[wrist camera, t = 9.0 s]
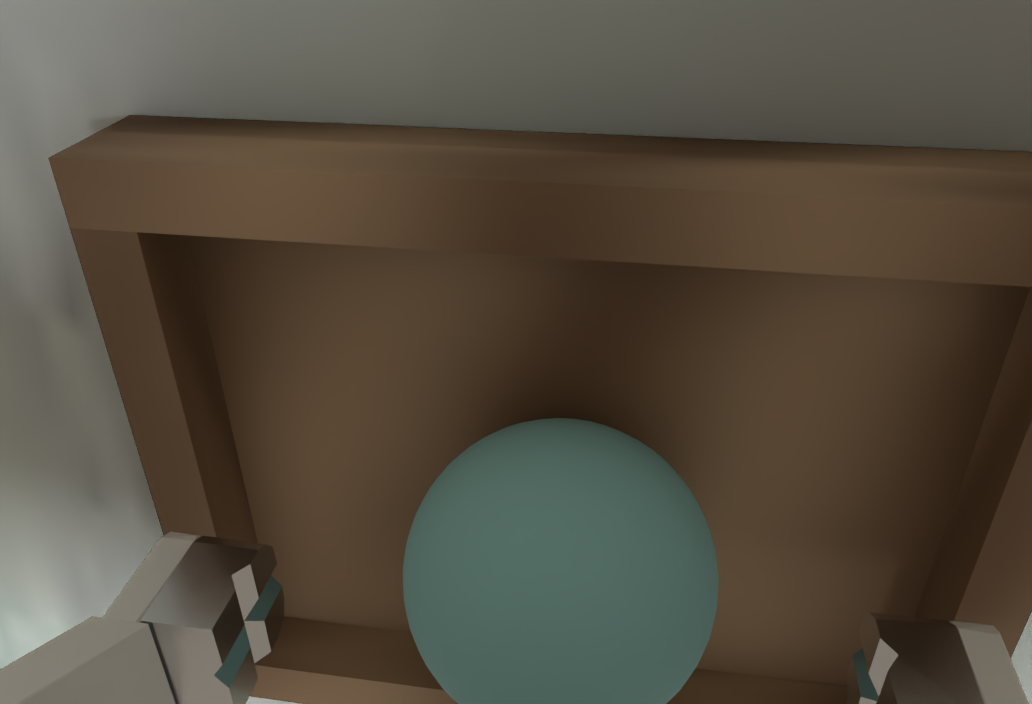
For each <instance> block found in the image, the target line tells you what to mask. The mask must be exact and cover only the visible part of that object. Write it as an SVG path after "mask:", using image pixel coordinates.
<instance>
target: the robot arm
mask: <svg viewBox="0 0 1032 704" xmlns="http://www.w3.org/2000/svg"><path fill="white" fill-rule="evenodd" d="M276 565H277V561H276V557H275V554H274V550H273V547H272V546H269V545H266V544H260V543H253V542H246V541H239V540H231V539H224V538H217V537H210V536H199V535H192V534H185V533H177V532H169V533H168V534H166V535H164V536H163V537H161V538H160V539H159V540H158V542H157V543H156V544H155V546H154V547H153V549H152V550H151V551H150V553H149V554H148V555H147V557H146V558H145V559H144V561H143V562H142V564H141V565H140V566H139V568H138V569H137V570H136V572H135V573H134V575H133V576H132V577H131V579H130V580H129V581H128V583H127V584H126V585H125V587H124V588H123V590H122V591H121V592H120V594H119V595H118V596H117V598H116V599H115V600H114V602H113V603H112V605H111V606H110V607H109V609H108V610H107V611H106V613H105V614H104V615H103V617H93V616H92V617H91V618H89V619H87V620H85V621H84V622H82V623H80V624H78V625H77V626H75V627H73V628H71V629H70V630H68V631H66V632H64V633H63V634H61V635H59V636H57V637H56V638H54V639H52V640H50V641H49V642H47V643H45V644H44V645H42V646H40V647H38V648H37V649H35V650H33V651H31V652H30V653H28V654H26V655H24V656H23V657H21V658H19V659H17V660H16V661H14V662H12V663H10V664H9V665H7V666H5V667H3V668H2V669H0V704H246V702H247V700H248V698H249V696H250V694H251V692H252V690H253V688H254V686H255V684H256V682H257V680H258V676H257V671H256V667H255V663H256V662H257V661H259V660H260V659H262V658H263V657H264V656H266V655H267V654H269V653H270V652H271V651H272V649H273V647H274V645H275V643H276V640H277V638H278V636H279V634H280V630H281V625H282V621H283V617H284V594H283V589H282V585H281V584H280V583H279V582H277V581H276V580H275V579H274V578H273V577H272V576H271V574H272V572H273V571H274V569H275V567H276ZM859 633H860V637H861V642H862V646H863V648H862V649H861V650H859V651H858V652H856V653H854V654H853V655H852V658H851V662H850V666H849V669H848V676H847V691H846V696H847V704H1029V702H1028V700H1027V697H1026V695H1025V693H1024V690H1023V688H1022V685H1021V683H1020V681H1019V678H1018V676H1017V673H1016V671H1015V668H1014V666H1013V664H1012V661H1011V659H1010V656H1009V654H1008V652H1007V649H1006V647H1005V644H1004V642H1003V639H1002V637H1001V635H1000V632H999V631H998V630H997V629H996V628H995V627H994V626H993V625H984V624H975V623H966V622H956V621H949V622H948V621H947V620H940V619H930V618H920V617H911V616H901V615H891V614H882V613H872V612H868V614H867V615H866V616H865V617H864V619H863V622H862V625H861V628H860V631H859Z"/></svg>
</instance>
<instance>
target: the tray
mask: <svg viewBox="0 0 1032 704" xmlns="http://www.w3.org/2000/svg"><path fill="white" fill-rule="evenodd" d="M49 161H50V164H51V168H52V171H53V174H54V178H55V181H56V184H57V187H58V191H59V194H60V197H61V201H62V204H63V207H64V210H65V214H66V217H67V220H68V223H69V227H70V230H71V233H72V237H73V240H74V243H75V246H76V250H77V253H78V256H79V259H80V263H81V266H82V269H83V273H84V276H85V279H86V282H87V286H88V289H89V292H90V295H91V299H92V302H93V305H94V309H95V312H96V315H97V318H98V322H99V325H100V328H101V332H102V335H103V338H104V341H105V345H106V348H107V351H108V354H109V358H110V361H111V364H112V368H113V371H114V374H115V377H116V381H117V384H118V387H119V390H120V394H121V397H122V400H123V404H124V407H125V410H126V413H127V417H128V420H129V423H130V427H131V430H132V433H133V436H134V440H135V443H136V446H137V449H138V453H139V456H140V459H141V463H142V466H143V469H144V472H145V476H146V479H147V482H148V485H149V489H150V492H151V495H152V499H153V502H154V505H155V508H156V512H157V515H158V518H159V522H160V525H161V528H162V531H163V535H166V534H168V533H169V532H177V533H185V534H192V535H199V536H210V537H217V538H224V539H231V540H239V541H246V542H253V543H260V544H266V545H269V546H272V547H273V550H274V554H275V557H276V561H277V565H276V567H275V569H274V571H273V572H272V574H271V576H272V577H273V578H274V579H275V580H276V581H277V582H279V583H280V584H281V585H282V589H283V594H284V617H283V621H282V625H281V630H280V634H279V636H278V638H277V640H276V643H275V645H274V647H273V649H272V651H271V652H270V653H269V654H267V655H266V656H264V657H263V658H262V659H260V660H259V661H257V662H256V663H255V667H256V671H257V676H258V680H257V682H256V684H255V686H254V688H253V690H252V692H251V694H250V696H252V697H259V698H266V699H273V700H280V701H288V702H295V703H302V704H458V703H457V702H456V701H454V700H453V699H452V698H451V697H450V696H449V695H448V694H447V693H446V692H445V690H444V689H443V688H442V687H441V686H440V684H439V683H438V682H437V680H436V679H435V677H434V676H433V675H432V673H431V672H430V670H429V669H428V667H427V666H426V664H425V662H424V660H423V659H422V657H421V655H420V652H419V650H418V648H417V646H416V643H415V641H414V638H413V636H412V633H411V630H410V627H409V622H408V618H407V614H406V609H405V604H404V593H403V565H404V556H405V550H406V544H407V539H408V536H409V533H410V529H411V526H412V523H413V521H414V518H415V515H416V512H417V510H418V508H419V507H420V505H421V503H422V501H423V499H424V497H425V495H426V494H427V492H428V490H429V489H430V487H431V486H432V484H433V483H434V482H435V480H436V479H437V478H438V477H439V475H440V474H441V473H442V472H443V471H444V469H445V468H446V467H447V466H448V465H449V464H450V463H451V462H452V461H453V460H454V459H456V458H457V457H458V456H459V455H460V454H461V453H463V452H464V451H465V450H466V449H467V448H468V447H470V446H471V445H473V444H474V443H476V442H478V441H479V440H481V439H482V438H484V437H486V436H488V435H490V434H492V433H494V432H497V431H499V430H501V429H503V428H505V427H509V426H512V425H515V424H518V423H522V422H527V421H533V420H539V419H551V418H569V419H579V420H586V421H591V422H595V423H599V424H603V425H606V426H608V427H611V428H614V429H616V430H619V431H621V432H623V433H625V434H627V435H629V436H631V437H633V438H635V439H637V440H639V441H640V442H642V443H643V444H645V445H646V446H648V447H649V448H651V449H652V450H654V451H655V452H656V453H657V454H658V455H660V456H661V457H662V458H663V459H664V460H665V461H666V462H667V463H668V464H669V465H670V466H671V467H672V468H673V469H674V470H675V471H676V472H677V474H678V475H679V476H680V477H681V478H682V479H683V480H684V482H685V483H686V485H687V486H688V487H689V489H690V490H691V492H692V493H693V495H694V497H695V498H696V500H697V502H698V504H699V506H700V508H701V510H702V512H703V514H704V516H705V518H706V521H707V524H708V527H709V530H710V533H711V536H712V539H713V543H714V546H715V552H716V559H717V567H718V576H719V583H718V600H717V611H716V615H715V619H714V623H713V627H712V631H711V635H710V639H709V641H708V643H707V646H706V648H705V650H704V652H703V655H702V657H701V659H700V661H699V663H698V665H697V667H696V668H695V670H694V671H693V673H692V674H691V676H690V677H689V679H688V680H687V681H686V683H685V684H684V685H683V687H682V688H681V690H680V691H679V692H678V693H677V694H676V695H675V696H674V697H673V698H672V699H671V700H670V701H669V702H668V703H667V704H847V696H846V691H847V676H848V669H849V666H850V662H851V658H852V655H853V654H854V653H856V652H858V651H859V650H861V649H862V648H863V646H862V642H861V637H860V633H859V631H860V628H861V625H862V622H863V619H864V617H865V616H866V615H867V614H868V612H872V613H882V614H891V615H901V616H911V617H920V618H930V619H940V620H947V621H948V622H949V621H956V622H966V623H975V624H984V625H993V626H994V627H995V628H996V629H997V630H998V631H999V632H1000V635H1001V637H1002V639H1003V642H1004V644H1005V647H1006V649H1007V652H1008V654H1009V656H1010V658H1011V656H1012V654H1013V652H1014V650H1015V647H1016V645H1017V643H1018V641H1019V638H1020V636H1021V634H1022V632H1023V630H1024V627H1025V625H1026V623H1027V621H1028V619H1029V616H1030V614H1031V612H1032V152H1019V151H994V150H970V149H945V148H921V147H896V146H872V145H847V144H823V143H798V142H774V141H749V140H725V139H700V138H676V137H651V136H627V135H602V134H577V133H553V132H528V131H504V130H479V129H455V128H430V127H406V126H381V125H357V124H332V123H308V122H283V121H259V120H234V119H210V118H185V117H161V116H136V115H130V116H128V117H126V118H124V119H122V120H120V121H118V122H116V123H114V124H112V125H111V126H109V127H107V128H105V129H103V130H101V131H99V132H97V133H95V134H93V135H92V136H90V137H88V138H86V139H84V140H82V141H80V142H78V143H76V144H74V145H73V146H71V147H69V148H67V149H65V150H63V151H61V152H59V153H57V154H55V155H54V156H52V157H50V158H49Z"/></svg>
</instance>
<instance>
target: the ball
mask: <svg viewBox="0 0 1032 704" xmlns="http://www.w3.org/2000/svg"><path fill="white" fill-rule="evenodd" d="M718 583H719V576H718V567H717V559H716V552H715V546H714V543H713V539H712V536H711V533H710V530H709V527H708V524H707V521H706V518H705V516H704V514H703V512H702V510H701V508H700V506H699V504H698V502H697V500H696V498H695V497H694V495H693V493H692V492H691V490H690V489H689V487H688V486H687V485H686V483H685V482H684V480H683V479H682V478H681V477H680V476H679V475H678V474H677V472H676V471H675V470H674V469H673V468H672V467H671V466H670V465H669V464H668V463H667V462H666V461H665V460H664V459H663V458H662V457H661V456H660V455H658V454H657V453H656V452H655V451H654V450H652V449H651V448H649V447H648V446H646V445H645V444H643V443H642V442H640V441H639V440H637V439H635V438H633V437H631V436H629V435H627V434H625V433H623V432H621V431H619V430H616V429H614V428H611V427H608V426H606V425H603V424H599V423H595V422H591V421H586V420H579V419H569V418H551V419H539V420H533V421H527V422H522V423H518V424H515V425H512V426H509V427H505V428H503V429H501V430H499V431H497V432H494V433H492V434H490V435H488V436H486V437H484V438H482V439H481V440H479V441H478V442H476V443H474V444H473V445H471V446H470V447H468V448H467V449H466V450H465V451H464V452H463V453H461V454H460V455H459V456H458V457H457V458H456V459H454V460H453V461H452V462H451V463H450V464H449V465H448V466H447V467H446V468H445V469H444V471H443V472H442V473H441V474H440V475H439V477H438V478H437V479H436V480H435V482H434V483H433V484H432V486H431V487H430V489H429V490H428V492H427V494H426V495H425V497H424V499H423V501H422V503H421V505H420V507H419V508H418V510H417V512H416V515H415V518H414V521H413V523H412V526H411V529H410V533H409V536H408V539H407V544H406V550H405V556H404V565H403V593H404V604H405V609H406V614H407V618H408V622H409V627H410V630H411V633H412V636H413V638H414V641H415V643H416V646H417V648H418V650H419V652H420V655H421V657H422V659H423V660H424V662H425V664H426V666H427V667H428V669H429V670H430V672H431V673H432V675H433V676H434V677H435V679H436V680H437V682H438V683H439V684H440V686H441V687H442V688H443V689H444V690H445V692H446V693H447V694H448V695H449V696H450V697H451V698H452V699H453V700H454V701H456V702H457V703H458V704H667V703H668V702H669V701H670V700H671V699H672V698H673V697H674V696H675V695H676V694H677V693H678V692H679V691H680V690H681V688H682V687H683V685H684V684H685V683H686V681H687V680H688V679H689V677H690V676H691V674H692V673H693V671H694V670H695V668H696V667H697V665H698V663H699V661H700V659H701V657H702V655H703V652H704V650H705V648H706V646H707V643H708V641H709V639H710V635H711V631H712V627H713V623H714V619H715V615H716V611H717V600H718Z"/></svg>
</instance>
